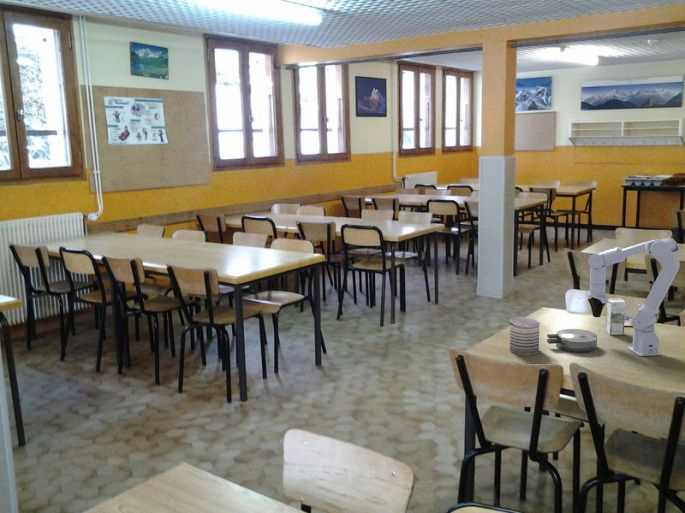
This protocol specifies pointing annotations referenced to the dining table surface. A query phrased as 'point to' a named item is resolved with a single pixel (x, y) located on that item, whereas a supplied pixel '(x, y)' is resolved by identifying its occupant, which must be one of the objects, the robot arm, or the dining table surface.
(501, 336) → the dining table surface
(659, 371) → the dining table surface
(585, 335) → the cooker lid
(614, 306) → the syrup box
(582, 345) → the cooker pot
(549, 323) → the dining table surface
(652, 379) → the dining table surface
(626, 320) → the smartphone
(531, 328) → the can
